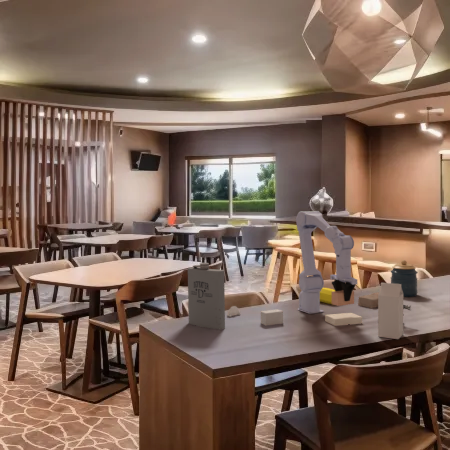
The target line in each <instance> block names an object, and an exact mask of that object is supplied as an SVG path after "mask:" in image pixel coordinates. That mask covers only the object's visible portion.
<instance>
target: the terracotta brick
mask: <svg viewBox="0 0 450 450" xmlns="http://www.w3.org/2000/svg"><path fill="white" fill-rule="evenodd" d="M332 304H333V305H332ZM332 304H331V305H332V306H338V307H341V306H348V305H353V304H355V291H354V290H353V291H352V294H351V298H350V301H345V300H344V292H343V290H341V291H333V292H332Z"/></svg>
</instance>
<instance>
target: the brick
mask: <svg viewBox="0 0 450 450" xmlns="http://www.w3.org/2000/svg"><path fill="white" fill-rule="evenodd" d="M378 294H379V291H377V292H372V293H371V294H365V295H361V296H359V297H358V301H357V305H358V307H359V306H360V307H364V308H365V307H366V308H368V309H373V308H374V309H375V308H378Z"/></svg>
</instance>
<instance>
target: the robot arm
mask: <svg viewBox="0 0 450 450" xmlns="http://www.w3.org/2000/svg"><path fill="white" fill-rule="evenodd" d="M295 221H296V228H297V231H298V237H299V244H300V250H301V258H302V265H303V270H302V271H301V272H300V273H299V274H298V277H299V281H298V286H299V289H300V290H301V291H300V292H299V294H298V308H296V309H297V310H298V311H301V312H304V313H306V314H309V315H310V314H317V313H324V312H325V310H323V309H321V306H320V305H321V302H320V291H321V289H322V288H324V287H325V281H324V279H323V275H322V272H321V271H320V270H318V269H317V267H316V261H315V260H316V257H315V254H314V245H313V240H312V232H314V231H315V230H316V229H317V228H318V229H320V230H321V231H323V232H324V236H325V238H326V239H328V240H329V241H330V242H331V243H332V247H333V249H334V254H335V274H330V275H329V278H330V280H331V285H332V286H333V289H334V290H335V291H341V290H343V292H344V300H345V301H350V298H351V294H352V291H354V289H355V287H356V285H358V279H357V278H354V277H352V251H351V250H353V248H354V246H355V240H354V238H353V237H352V235H346V234H345V233H344V232H343V231H341V230H340V229H339V228H338V226H337V225H330V224H329V223H328V221H326V220H325V219H324V216H323V213H321V212H320V211H319V210H315V211H309V210H307V211H301V210H300V211H299V212H298V213H297V215H296V217H295ZM333 280H334V281H333Z"/></svg>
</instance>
